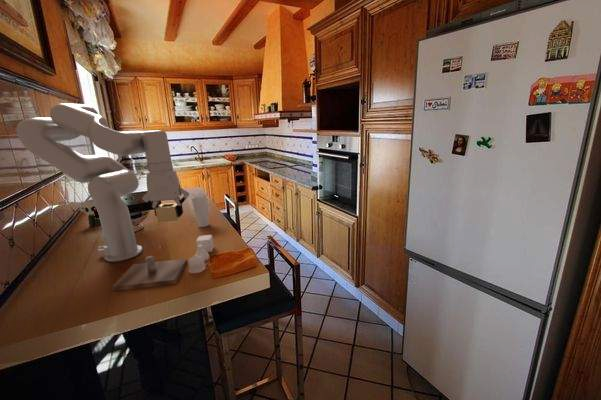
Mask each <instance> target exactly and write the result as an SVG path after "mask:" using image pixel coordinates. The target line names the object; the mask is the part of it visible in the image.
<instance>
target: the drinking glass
mask: <svg viewBox="0 0 601 400" xmlns="http://www.w3.org/2000/svg"><path fill="white" fill-rule="evenodd" d="M191 202H192V208H193V212H194V216H195V219H196V223H197V227H198V228H206V227H208V226H209V225H210V220H209V219H210V218H209V205H208V197H207V194H206V193H199V194H194V195H192V196H191Z"/></svg>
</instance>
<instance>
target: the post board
mask: <svg viewBox="0 0 601 400" xmlns="http://www.w3.org/2000/svg"><path fill="white" fill-rule="evenodd" d="M144 259H145V262H143V263H133V264H132V265H131V266H130V267H129V268H128V269H127V270H126V271H125V272H124V274H123V275H121V277H120V278H119V279H118V280H117V281H116V282H115V283H114V284H113V285H112V286H111V287H112V291H113V292H118V291H127V290H134V289H144V288H145V289H146V288H152V287H153V288H154V287H162V286H168V285H176V284H177V282H178V280H179V279H180V277H181V275H182V273H183V272H184V269H185V268H186V266H187V264H188V259H187V258H180V259H179V258H178V259H172V260H171V259H168V260H162V261H161V260H160V261H155V257H154V255H150V256H149V255H148V256H146V257H145V258H144Z"/></svg>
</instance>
